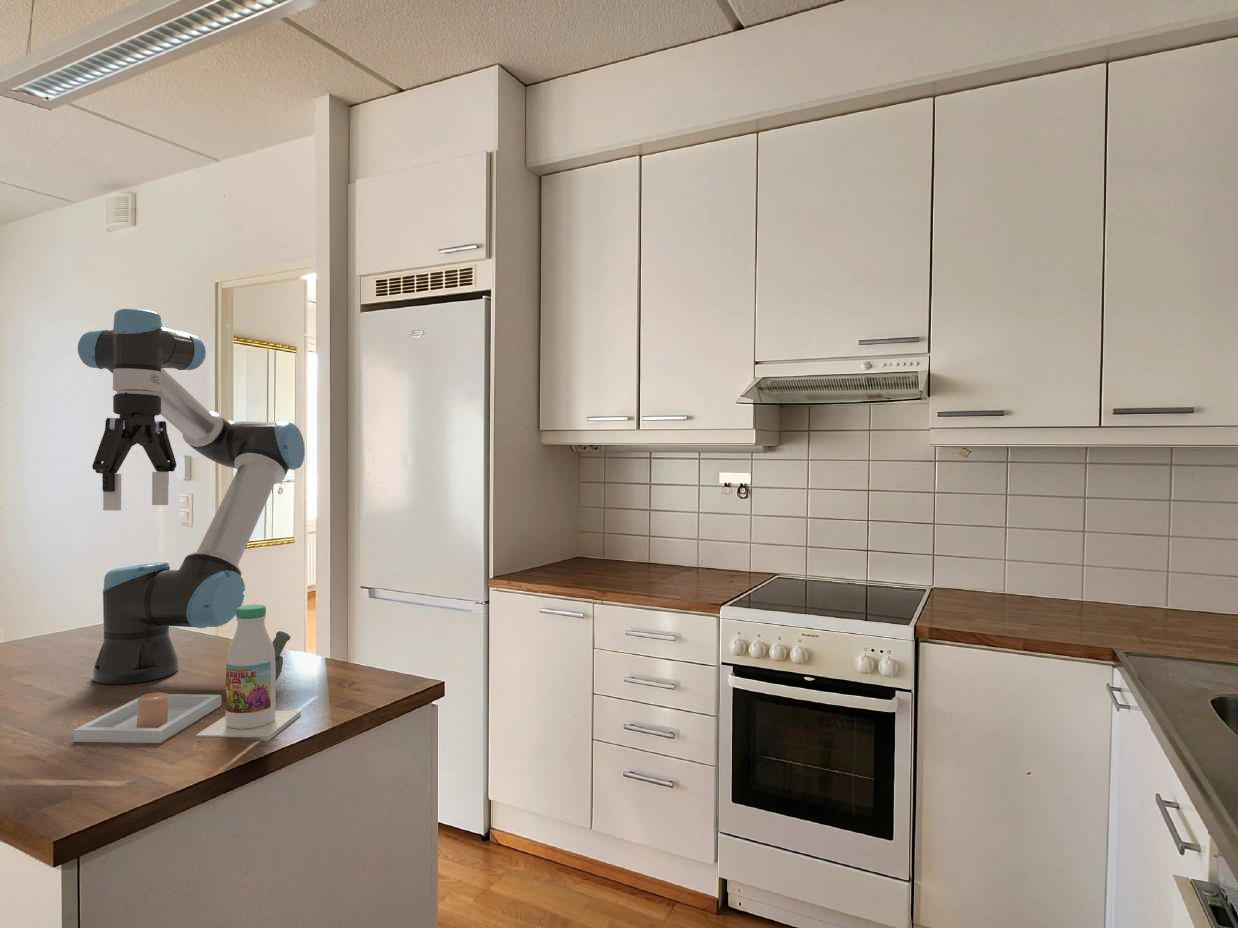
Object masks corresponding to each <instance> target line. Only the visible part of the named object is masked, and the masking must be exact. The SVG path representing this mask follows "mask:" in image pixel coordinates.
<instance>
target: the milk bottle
mask: <svg viewBox="0 0 1238 928" xmlns="http://www.w3.org/2000/svg"><path fill="white" fill-rule="evenodd" d="M266 613H267V607H266V605H264V604H246V605H241V606H240V607H238V608H237V609H236V615H235V617H236V619H235V621H236V622H237V627H236V630H235V633H234V636H233V638H232V639H231V642H230V644H229V646H228V649H227V653H226V660H225V716H226V724H227V726H228V727H230V728H234V729H248V728H255V727H260V726H263V725H266V724H268V723H270V722H272V721H273V720H274V718H275V712H276V711H277V710H276V709H277V708H276V701H277V700H276V699H277V698H276V697H277V696H276V693H277V692H276V690H277V689H276V688H277V685H276V683H277V680H276V668H275V650H274V646H273V643H272V642H273V641H272V639H271V637H270V635H269V632H268V631H267V627H266V624H265V619H266V618H267V616H266V615H267V614H266Z"/></svg>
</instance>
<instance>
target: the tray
mask: <svg viewBox="0 0 1238 928" xmlns="http://www.w3.org/2000/svg"><path fill="white" fill-rule="evenodd" d="M167 694H168V695H169V703H168V722H167V723H166V724H164V725H162V726H161V727H159V728H137V713H138V698H139V697H137V698H135V699H133V700H131V701H128V702H126V703H125V704H123V705H121V706H119V707H117V708H115V709H113V710H110V711H109V712H107V713H105V714H102V715H100V716H98V717H97V718H94V719H93V720H91V721H89V722H87V723H85V724H83V725H81V726H79V727H76V728H74V729H73V743H76V742H77V743H118V744H119V743H123V744H125V743H128V744H129V743H130V744H131V743H132V744H161V743H163V742H165V741H166V740H168V739H169V738H171V737H173V736H174V735H176V734H177V733H180V732H181V731H183V730H184V729H187V727H189V726H190V725H192V724H193V723H195V722H197V721H199V720H200V719H202V718H203V717H206V716H207V715H208V714H209V713H212V712H213V711H215V710H216V709H218V708H220V707H221V706H222V697H223V695H222V694H195V693H194V694H189V693H187V694H184V693H183V694H182V693H180V694H178V693H175V694H174V693H167Z"/></svg>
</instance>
